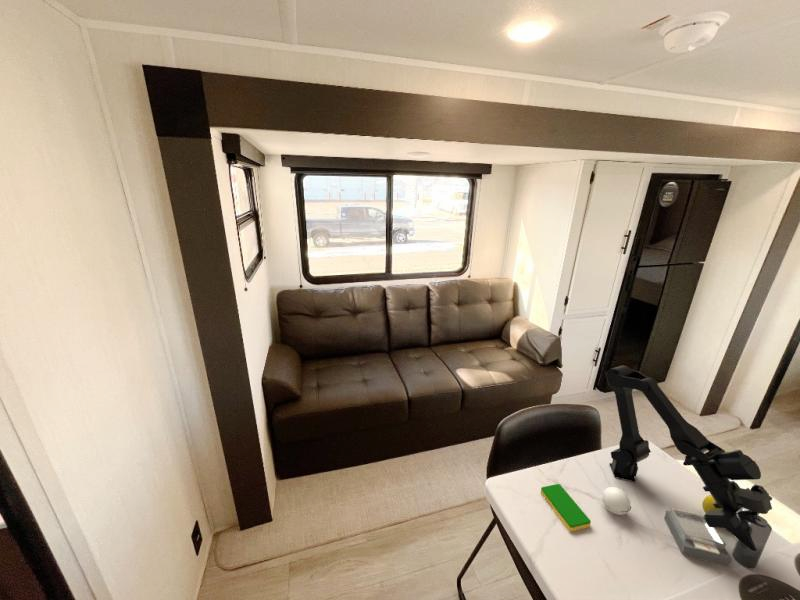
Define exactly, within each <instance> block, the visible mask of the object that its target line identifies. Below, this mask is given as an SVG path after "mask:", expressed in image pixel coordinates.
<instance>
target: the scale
mask: <svg viewBox="0 0 800 600" xmlns="http://www.w3.org/2000/svg"><path fill="white" fill-rule="evenodd" d="M704 515H705V514H703V515H702V514H699V513H695V512H691V511H688V510H682V509H678V508H674V507H671V508H670V511H668V510H666V511H665V514H664V518H663V519H664V521H665V523H666V525H667V527H668V529H669V530H670V531H669V532H670V533H671V535H672V537H673V539H674V542H675V543H676V546H677V547H678V549H679V551H680V553H681V555H684V556H686V557H691V558H694V559H698V560H701V561H705V562H709V563H713V564H716V565H720V566H722V567H723V566H724V567H727V568H728V567H730V564H731V561H732V559H733V558H732V556H731V555H730V554H729V552H728V551H727V549H726V545H727V544H726V542H724V540H723V538H722V537H721V535H720V534H719V532H718V531H717V528H713V527H709V526H708V525H707V523H706V522H705V520H704Z"/></svg>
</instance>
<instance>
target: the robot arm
mask: <svg viewBox="0 0 800 600" xmlns="http://www.w3.org/2000/svg"><path fill="white" fill-rule="evenodd" d="M605 377H606V378H605V379H606V380H607V384H608V386H609V387H610V389H611V390H612V391H613V392H614V397H615V401H616V407H617V412H618V419H619V423H620V429H621V438H620V441H619V445H618V446H619V448H616V449H613V450H611V452H610V456H611V459H612V461H611V463H609V466H610V470H611V472H612V475H613V477H614V478H615V479H621V480H625V481H630V482H634V483H636V481H637V479H636V478H637V474H638V471H639V466H638V463H639V462H642V461H644V460H646V459H647V458H649V456H650V453H652V452H651V449H650V445H649V444H650V443H649V440H647V439H643V437H642V436H641V434H640V430H639V424H638V418H637V414H636V409H635V403H634V397H633V391H634V390H635V391H636V390H637V391H638V392H639V391H640V392H642V394H643V395H644V396H645V398H646V399H647V401H648V402H649V403H650V404H651V406H652V408H653V409H654V410H655V411H656V413H657V414H658V416H659V417H660V418H661V419H662V421H663V422H664V423H665V425H666V427H667V429H668V431H669V436H670V439H671V441H672V442H673V444H674V446H675V448H676V449H677V451H678V452H680V453H681V454H682V455H684V458H685V459H684V460H683V462H682V465H683V466H692V468H693V469H694V470H695V472H696V473H697V475H698V476H699V478H700V479H701V481H702V482H703V484H704V486H703V487H702V489H703V491H704V492H709V494H710V495H712V497H713V498H714V500H715V501H716V502H715V503H714V504H713V505H714V506H715V508H721V509H722V510H710V511H709V512H708V513H704V514H703V515H704V520H705V522H706V523H707V525H708V526H709V527H713V528H715V529H725V530H727V531H728V533H730V534H731V535H733V536H734V537H735V538H737V540H738V539H739V540H740V541H741V542H742V543H744V544H745V545H746V546H747V547H748V548H750V549H751V550H752V551H757V549H756V547H755V544H754V543H753V541H752V539H751V537H750V535H749V533H748V532H747V530H746V528H745V527H746V524H747V521H745V520H746V517H747V516H748V515H753V516H754V515H758V516H760V514H762V515H767V514H768V513H769V511H771V510H773V507H772V503H771V501H772V500H773V497H772V496H771V495H770V494H769V492H768V491H767V490H766V489H765V487H764V486H763V485H759V484H753V485H752V487H751V488H749V487H746V488H742V487H740V486H739V484H738V483H737V482H736V481H744V480H746V481H747V480H749V481H751V480H755V481H756V480H760V479H761V478H762V473H761V469H760V467H759V466H758V464H757V463H756V461H755V460H753V459H752V458H751V457H750V456H749V455H747V454H744V453H743V451H742V450H741V449H736V450H731V451H726V450H724V449H723V448H722V447H720V446H719V445H716V444H715V443H713V442H712V441H711V440H709V439H708V438H707V437H706V436H705V435H704V434H703V433H702V432H701V431H700V430H699V429H698V428H697V427H695V426H694V425H692V424H690V423H689V422H688V421H687V420H686V419H685V418H684V417H683V416H682V415H681V413H680V412H679V411H678V409H677V408H676V407H675V405H674V404H673V402H672V401H671V400H670V399H669V398H668V397H667V395H666V394H665V393H664V391H663V390H662V389H661V387H660V386H659V384H658V381H657V380H656V379H654V378H652V377H650V376H646V375H645V374H643V373H642V372H640V371H637V370H634V369H632V368H630V367H629V366H627V365H620V366H615V367H613V368H610V369H609V368H608V370H607V371H605Z"/></svg>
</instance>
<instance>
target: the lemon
mask: <svg viewBox="0 0 800 600" xmlns="http://www.w3.org/2000/svg"><path fill="white" fill-rule="evenodd" d="M715 502H716V501H715V500H714V498H713V497H712V495H711V494H710V495H709V494H708V495H707V496H705V497H704V499H703V500H702V505H701V507H702V509H703V510H702V511H703V512H704V514H706V513H708V512H709V511H710V510H722V509H721V508H715V506H714V505H713V504H714V503H715Z"/></svg>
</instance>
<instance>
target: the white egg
mask: <svg viewBox="0 0 800 600" xmlns="http://www.w3.org/2000/svg"><path fill="white" fill-rule="evenodd" d="M601 495H602V497H601V498H602V502H603V504H604V505H603V506H604V507H605V508H606V509H607V510H608V511H609V512H611V513H613V514H615V515H618V516H624V515H625V514H628V513H629V512H630V511H631V510H632V506H631V500H630V498H629V496H628V494H626V492H625V491H623V490H622V489H620V487H619V488H618V487H616V486H615V487H613V486H609V487H607V488H605V489H604V490H603V492H602V494H601Z"/></svg>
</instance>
